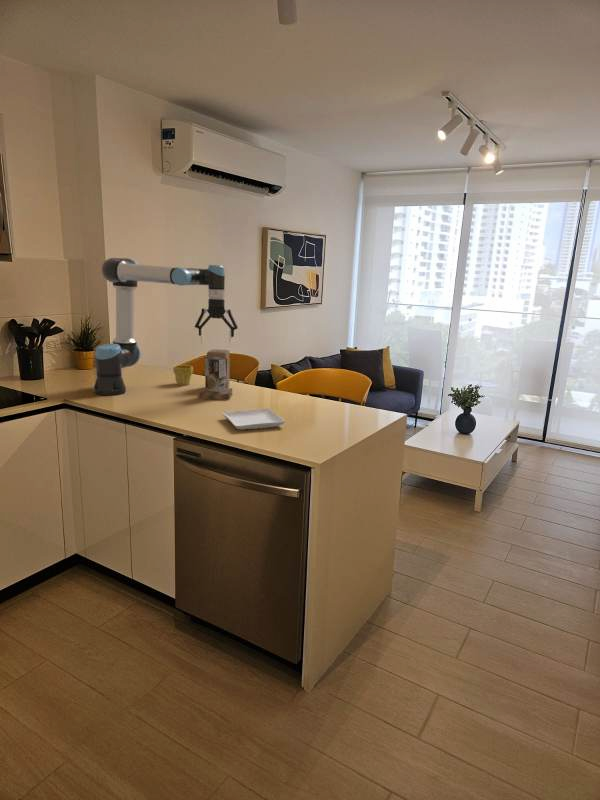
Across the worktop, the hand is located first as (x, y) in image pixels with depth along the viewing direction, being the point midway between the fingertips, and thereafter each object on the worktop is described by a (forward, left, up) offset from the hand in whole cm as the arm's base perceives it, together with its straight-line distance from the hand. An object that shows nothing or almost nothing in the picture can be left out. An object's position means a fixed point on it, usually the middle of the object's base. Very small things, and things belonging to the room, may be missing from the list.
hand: (216, 343), depth 259 cm
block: (-2, +19, -27) cm, 33 cm away
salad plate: (+22, -45, -27) cm, 57 cm away
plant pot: (-22, +26, -27) cm, 43 cm away
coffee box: (0, 0, -24) cm, 24 cm away
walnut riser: (0, 0, -26) cm, 26 cm away
